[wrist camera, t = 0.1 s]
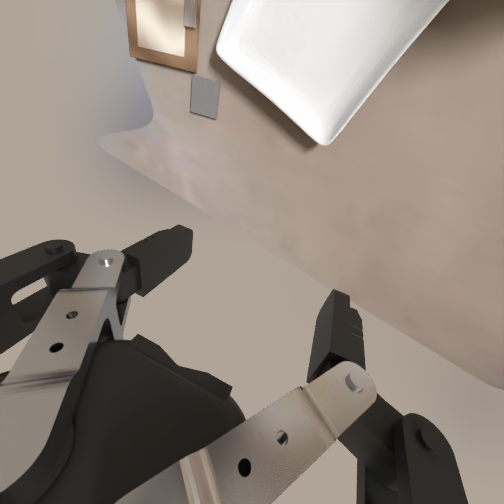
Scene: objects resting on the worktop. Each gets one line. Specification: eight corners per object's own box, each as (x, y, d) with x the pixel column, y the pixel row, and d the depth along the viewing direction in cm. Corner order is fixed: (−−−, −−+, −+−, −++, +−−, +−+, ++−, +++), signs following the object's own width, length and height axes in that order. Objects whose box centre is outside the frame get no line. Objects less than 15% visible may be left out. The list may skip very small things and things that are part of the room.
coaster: (193, 76, 35) (192, 75, 35) (220, 83, 34) (219, 82, 34) (191, 111, 38) (190, 111, 37) (216, 119, 37) (215, 118, 36)
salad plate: (327, 149, 33) (325, 150, 30) (222, 58, 33) (211, 51, 30) (488, -46, 21) (510, -73, 18) (323, -198, 20) (320, -250, 17)
